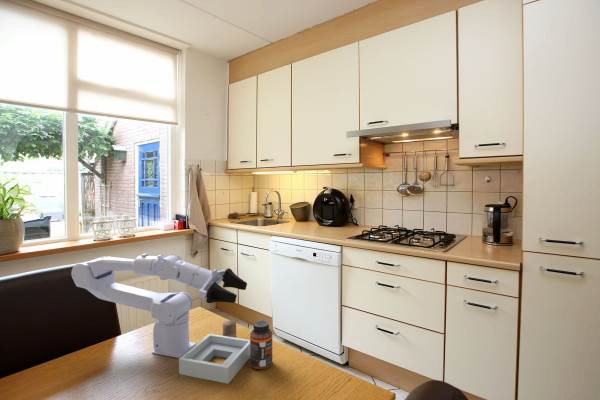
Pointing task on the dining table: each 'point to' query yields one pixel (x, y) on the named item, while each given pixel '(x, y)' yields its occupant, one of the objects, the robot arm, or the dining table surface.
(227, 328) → the peg
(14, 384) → the dining table surface
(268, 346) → the supplement bottle
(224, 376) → the bore box
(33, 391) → the dining table surface
